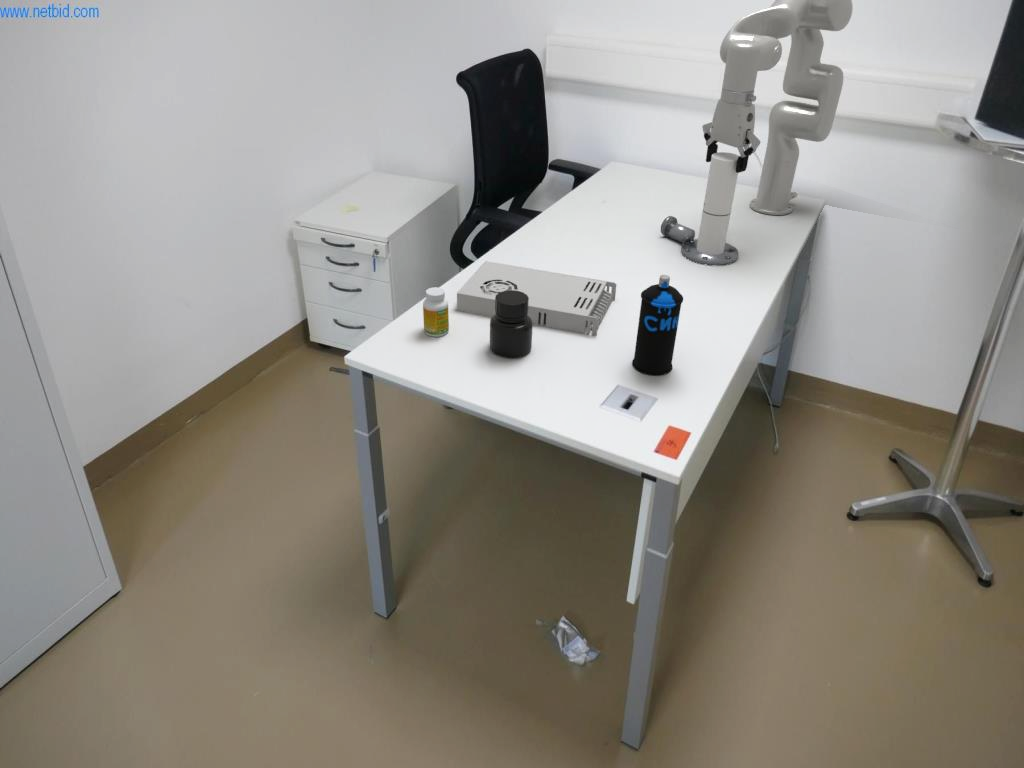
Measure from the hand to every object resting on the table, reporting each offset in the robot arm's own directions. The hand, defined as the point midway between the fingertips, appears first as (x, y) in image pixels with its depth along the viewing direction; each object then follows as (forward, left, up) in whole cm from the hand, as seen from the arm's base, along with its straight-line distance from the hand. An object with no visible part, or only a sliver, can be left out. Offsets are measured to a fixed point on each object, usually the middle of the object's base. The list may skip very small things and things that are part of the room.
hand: (725, 166), depth 198 cm
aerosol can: (+55, +32, -24) cm, 68 cm away
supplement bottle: (+84, -5, -24) cm, 87 cm away
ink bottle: (+75, +10, -24) cm, 79 cm away
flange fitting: (+1, -4, -24) cm, 24 cm away
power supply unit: (+57, -3, -25) cm, 62 cm away
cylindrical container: (0, 0, -23) cm, 23 cm away
